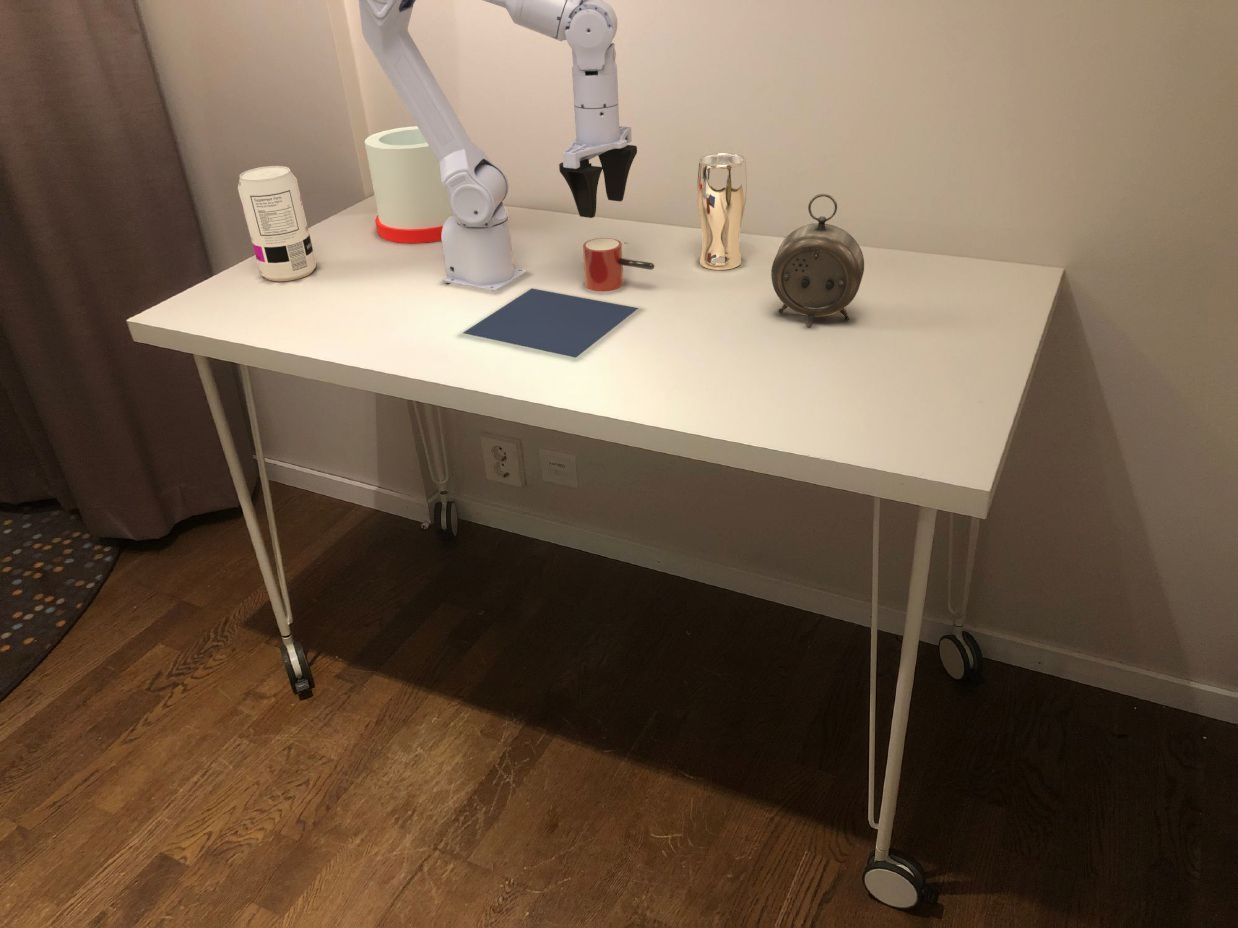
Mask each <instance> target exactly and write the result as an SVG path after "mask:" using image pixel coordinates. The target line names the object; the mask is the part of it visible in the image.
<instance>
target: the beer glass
mask: <svg viewBox="0 0 1238 928" xmlns="http://www.w3.org/2000/svg"><path fill="white" fill-rule="evenodd" d="M747 176H748V175H747V158H746V157H745V156H744V155H743V154H739V153H733V152H716V153H708V154H704V155H702V156H701V157H699V158H698V167H697V178H696V202H697V209H698V216H699V221H700V227H701V234H702V235H701V236H702V245H701V251H700V257H699V264H700V266H701V267H703V268H705V269H709V270H714V271H727V270H732V269H735V268H738V267H739V266H740V265H741V264H742V254H741V249H740V247H741V246H740V233H741V228H742V222H743V218H744V214H745V209H746V201H747V193H748V192H747V189H748V186H747V185H748V178H747Z"/></svg>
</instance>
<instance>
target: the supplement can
mask: <svg viewBox="0 0 1238 928" xmlns="http://www.w3.org/2000/svg"><path fill="white" fill-rule="evenodd" d="M237 191H238V195H239V199H240V202H241V206H242V211H243V215H244V218H245V222H246V225H247V229H248V233H249V237H250V240H251V244H252V247H253V252H254V255H255V259H256V262H257V267H258V270H259V274H260V275H261V276H262V277H264V278H265V279H266V280H268V281H271V282H291V281H295V280H300V279H303V278H305V277H307V276H309V275H311V274H312V273H313V272H314V269H315V268H316V267H317V262H316V256H315V251H314V247H313V244H312V240H311V234H310V231H309V226H308V222H307V218H306V213H305V209H304V204H303V201H302V196H301V191H300V187H299V182H298V178H297V177H296V176H295V175H294V174H293V172H292V171H291V168H289V167H288V166H282V165H268V166H261V167H256V168H251V169H247V170H245V171H243V172H241V173H240V174H239V180H238V184H237Z"/></svg>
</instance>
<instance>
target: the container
mask: <svg viewBox="0 0 1238 928" xmlns="http://www.w3.org/2000/svg"><path fill="white" fill-rule="evenodd" d="M364 147H365V152H366V157H367V164H368V168H369V173H370V178H371V185H372V190H373V195H374V201H375V207H376V212H377V215H376V217H375V219H374V221H375V227H376V232H377V234H378V236H379V237H380V238H382V239H384V240H385V241H389V242H394V243H398V244H423V243H424V244H426V243H427V244H428V243H433V242H439V241H442V240H441V235H442V229H443V225H444V223H445V222H446V220H447V219H448V218H449V217H451V216H453V213H452V212H451V209H450V206H449V199H448V194H447V191H446V189H445V187H444V186H443V184H442V182H441V173H440V164H439V161H438V160H437V158H436V156H435V155H434V153H433V152H432V150H431V148H430V147H429V145H428V143H427V142H426V140H425V138H424V137H423V135H422V133H421V132H420V130H419V128H418V127H417V125H415V126H414V125H413V126H404V127H396V128H391V129H387V130H382V131H379V132H376V133H372V134H371V135H369V136H368V137H366V138H365V140H364Z"/></svg>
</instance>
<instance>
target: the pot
mask: <svg viewBox="0 0 1238 928" xmlns="http://www.w3.org/2000/svg"><path fill="white" fill-rule="evenodd" d="M582 256H583V257H582V258H583V270H584V271H583V272H584V285H585V288H586V289H588V290H590V291H593V292H612V291H615V290H618V289H620V288H622V287H623V286H624V285H625V284H624V281H625V280H624V266H626V267H633V268H638V269H644V270H645V269H646V270H648V271H649V270H650V271H652V270H654V269H655V264H654V263H653V262H648V261H642V260H637V259H629V258H624V257H623V243H622V242H621V240H618V239H615V238H611V237H610V238H609V237H599V238H598V237H597V238H592V239H590V240H587V241H585V242H583V244H582Z"/></svg>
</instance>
